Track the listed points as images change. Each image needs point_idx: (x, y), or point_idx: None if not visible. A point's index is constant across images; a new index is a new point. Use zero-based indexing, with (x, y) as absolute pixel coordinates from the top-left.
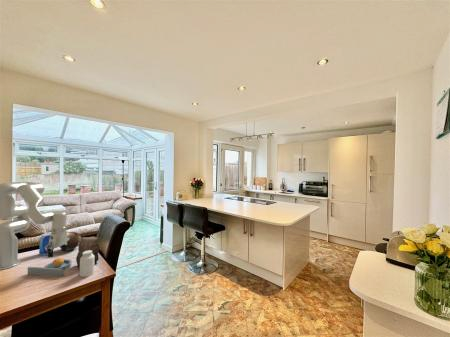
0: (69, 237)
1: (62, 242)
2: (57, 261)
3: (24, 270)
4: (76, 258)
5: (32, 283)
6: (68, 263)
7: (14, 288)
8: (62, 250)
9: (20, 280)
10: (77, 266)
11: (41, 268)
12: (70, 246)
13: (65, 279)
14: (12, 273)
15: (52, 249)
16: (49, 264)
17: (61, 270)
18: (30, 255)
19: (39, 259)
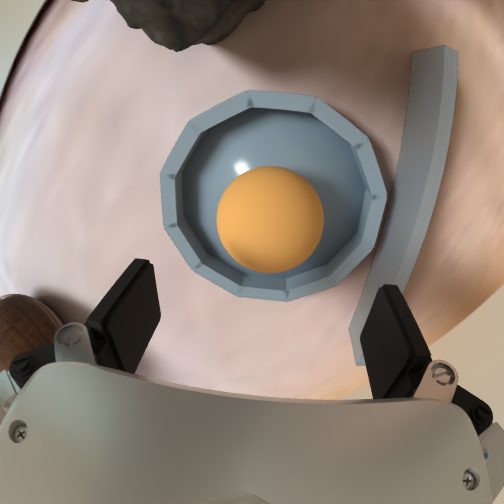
0: None
1: (204, 493)
2: (314, 210)
3: (302, 370)
4: (207, 23)
5: (480, 211)
6: (204, 147)
7: (494, 266)
8: (156, 305)
9: (424, 307)
10: (237, 25)
11: (412, 270)
12: (38, 321)
13: (452, 9)
14: (329, 388)
15: (438, 396)
16: (271, 288)
17: (452, 52)
18: None
19: (177, 381)
